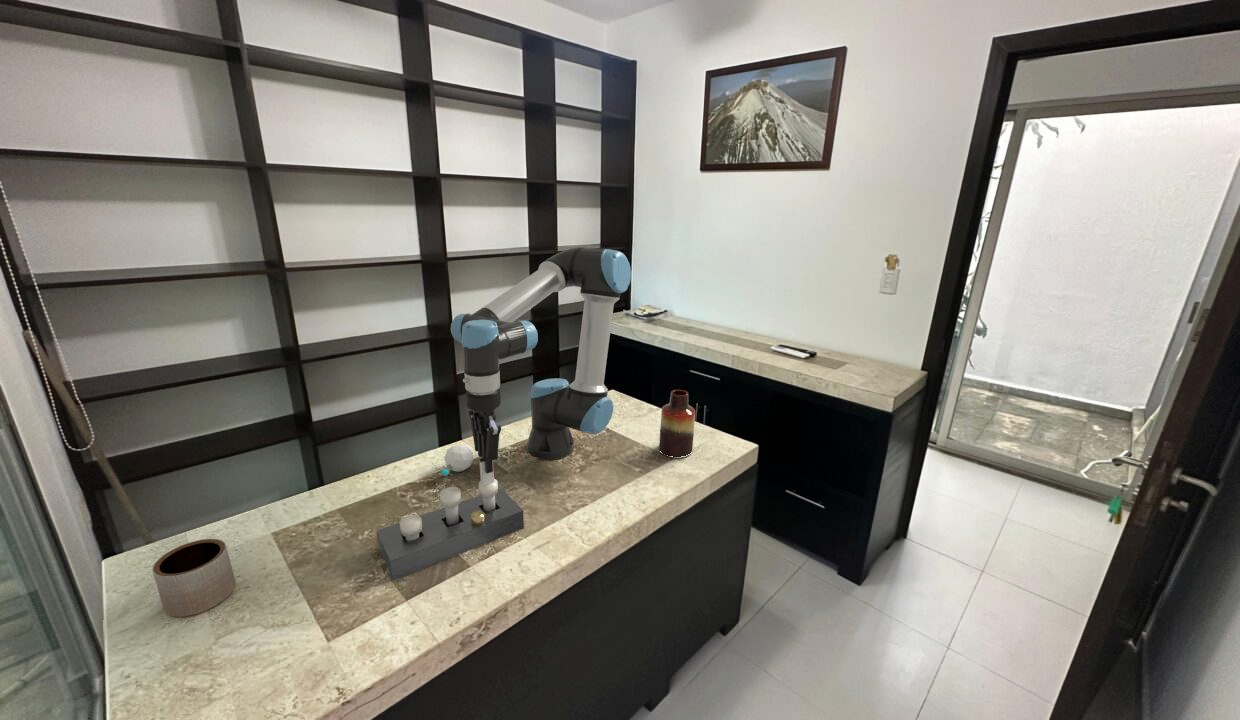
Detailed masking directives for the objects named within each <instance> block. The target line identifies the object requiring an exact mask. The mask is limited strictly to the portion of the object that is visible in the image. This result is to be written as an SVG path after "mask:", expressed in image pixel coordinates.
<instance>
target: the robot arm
mask: <svg viewBox="0 0 1240 720" xmlns="http://www.w3.org/2000/svg"><path fill="white" fill-rule="evenodd" d="M631 269H632V268H631V265H630V262H629V261H628V258H627V256H626V255H625V254H624V253H623V252H621V251H619V250H615V249H611V248H609V249H608V248H595V247H594V248H593V247H591V248H590V247H584V246H577V247H571V248H567V249H564V250H563V251H561V252H558V253H556V254H554V255H551V257H549V258H547V259H546V260H544V261H543V262H541V263H540V264H539V266H538V269H537V270H536V271H534V272H533V273H532V274H530V275H528V276H527V277H525V278H524V279H523V280H521V281H520V282H518V283H517V284H515V285H514V286H512V287H511V288H509V289H508V290H506V291H505V292H503V293H502V294H500V295H499V296H498V297H495V299H493V300H491V301H490V302H489V303H487V304H485V305H484V306H483V307H481V308H479V309H478V310H477V311H474V312H473V313H469V312H468V313H460V314H457V315H456V316H455V317H454V318H453V319H452V321H451V324H450V333H451V335H452V338H453V339H454V340H455V341H457V342H459V343H461V346H462V359H463V360H462V361H463V371H464V372H463V373H464V378H463V379H462V382H463V383H464V387H465V388H464V389H465V390H466V391H465V406H466V407H467V409H469V411H468V416H469V418H470V419H469V420H470V424H471V430H472V431H471V432H472V438H473V444H474V445H473V446H474V450H475V452H477V456H478V457H479V474H480V476H479V477H480V481H481V484H482V485H486V484H490V483H493V482H494V479H495V474H494V473H495V472H494V461H496V460H498V457H499V456H498V455H499V445H500V444H499V443H500V434H501V431H502V427H501V425H496V420H497V418H496V414H495V410H496V409H497V408H499V406H500V405H501V402H502V401H501V391H500V387H501V378H500V377H501V374H500V373H501V372H500V360H503V359H504V360H505V359H507V358H509V357H513V356H516V355H520V354H525V353H526V352H529V351H531V350H533V349H534V348H536V346H537V344H538V341H539V339H538V338H539V336H538V335H539V334H538V330H537V329H536V327H535V325H534V324H533V323H532V322H531V321H529V320H524V319H523V320H518V319H520V317H522V316H523V315H525V314H526V313H527V312H528V311H530V310H531V309H532V308H533V307H535V306H536V305H538V304H539V303H540V302H542V301H544V300H545V299H546V298H548V297H549V296H550V295H551V294H553V293H559V292H561V291H563V290H564V289H566V288H570V287H571V288H572V287H576V288H577V287H578V288H580V292H579V295H580V296H581V297H582V298H583V300H584V304H583V312H582V320H581V329H580V336H579V345H578V352H577V361H576V370H575V378H574V380H573V382H571V383H569V381H568V380H567V379H565V378H546V379H543V380H539V381H537V382H535V383H534V384H533V385H532V386H531V389H530V391H531V392H530V393H531V394H530V404H531V405H530V409H531V411H530V412H531V430H530V433H529V436H528V439H527V442H526V452H527V453H528V454H529V456H531V457H533V458H535V459H538V460H550V461H551V460H561V459H563V458H566V457H568V456H570V455H571V454H572V453H573V452H574V450H575V441H574V438H573V435H572V432H571V430H570V429H572V430H575V431H579V432H581V433H583V434H589V435H597V434H600V433H602V432H603V431H604V430H605V429H606V428H607V426H608V425H609V423H610V422H611V419H612V416H613V412H614V403H613V402H614V401H613V400H612V399H611V398H610V397H608V393H609V392H608V391H609V389H608V388H607V386H606V385H605V383H604V382H605V378H606V377H605V375H606V367H607V359H608V352H609V346H610V345H609V343H610V338H611V337H610V336H611V328H612V322H613V320H612V319H613V312H614V306H615V304H616V303H617V302H618V301H619V300H620V299H621V298H620V297H621V294H622V293H625V292H626V291H627V290H628V288H629V286H630V284H631V280H632V279H631V278H632V271H631Z"/></svg>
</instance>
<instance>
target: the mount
mask: <svg viewBox="0 0 1240 720" xmlns="http://www.w3.org/2000/svg"><path fill="white" fill-rule="evenodd" d="M495 508H496V510H494V511H492V512H489V513H486V514H485V513H484V515H485V522H484V524H482V525H480V526H474V525H472V523H471V514H472V513H473V512H475V511H483V512H484V508H483V496H481V495H480V494H479V495H478V496H474V497H472V498H471V497H470V498H469V499H465V500H463V501H462V500H461V502H460V503H459V504H458V512H459V523H458V524H456V525H453V526H449V525H447V523H446V512H445V507H441V508H439V509H436V510H433V511H429V512H426V513H424V514H421V515H419V516H420V517H421V519H422V531H421V532H420V533H419V537H420V538H417V539H414V540H412V541H409V542H406V537H405V536H403V535H402V534H401V529H400V522H397V523H395V524H392V525H389V526H386V527H382V528H380V529H377V530H376V538H377V544H378V545H377V546H378V550H379V553H380V555H381V557H382V560H383V562H384V564H385V566H386V569H387V571H388V573H389V575H390V577H391V580H392V581H396V580H399V579H401V578H403V577H406V576H408V575H411V574H413V573H416V572H418V571H421V570H423V569H425V568H428V567H431V566H433V565H436V564H438V563H440V562H443V561H445V560H448V559H451V558H453V557H455V556H458V555H460V554H463V553H467V552H468V551H470V550H473V549H475V548H478V547H480V546H483V545H485V544H487V543H488V544H489V543H491V542H493V541H495V540H498V539H501V538H503V537H506V536H509V535H510V534H513V533H516V532H517V531H520V530H523V529H524V528H525V526H524V525H525V523H524V522H525V520H524V516H525V515H524V510H523V509H522V508H521V506H519V504H518V503H517V502H516V501H515V500H514V499H513V498H512V497H511V495H509V494H508V493H507V492H506V491H505V490H504V488H498V492H497V494H495Z"/></svg>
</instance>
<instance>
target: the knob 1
mask: <svg viewBox="0 0 1240 720" xmlns="http://www.w3.org/2000/svg"><path fill="white" fill-rule="evenodd" d="M420 516H421V515H418V514H411V515H407V516H404V517H403V518H401V520H399V523H400V529H401V534H402V535H403V536H405V537H406V542H409V541H412V540H414V539H417V538H420V537H419V533H420V532H421V531H422V519H421V517H420Z"/></svg>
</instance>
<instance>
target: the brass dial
mask: <svg viewBox="0 0 1240 720" xmlns="http://www.w3.org/2000/svg"><path fill="white" fill-rule="evenodd" d="M484 522H485V515H484V512H483V511H475V512H473V513H472V514H471V523H472V525H474V526H480V525H482V524H484Z"/></svg>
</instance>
